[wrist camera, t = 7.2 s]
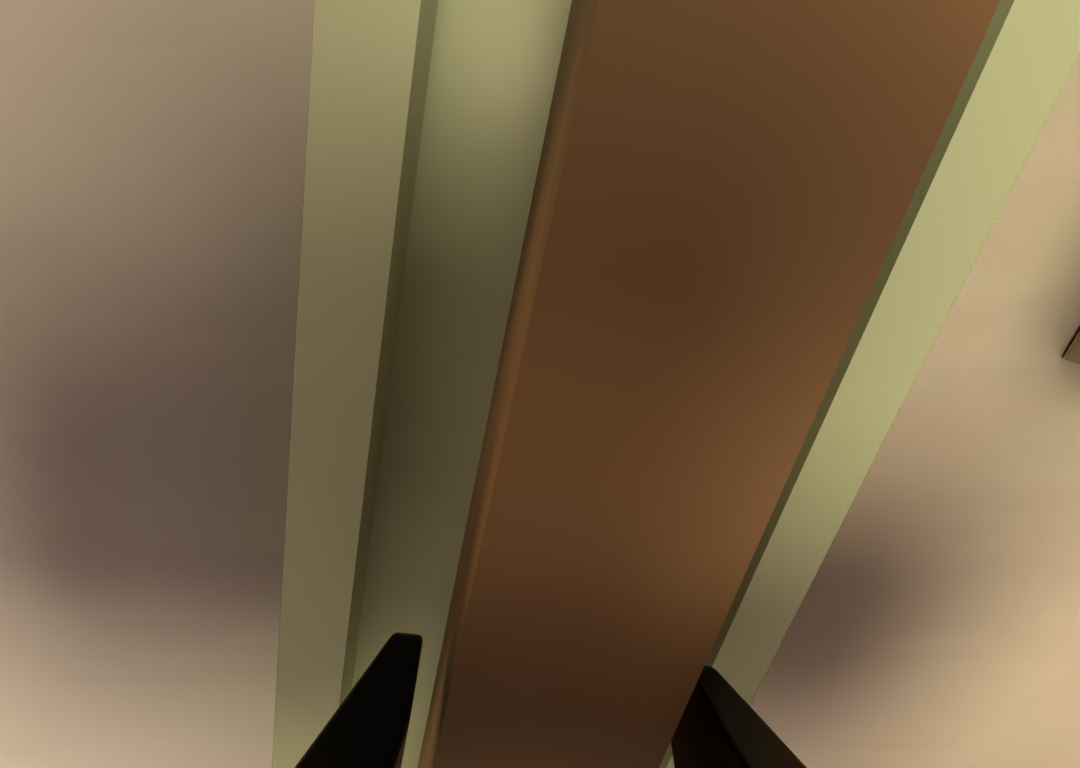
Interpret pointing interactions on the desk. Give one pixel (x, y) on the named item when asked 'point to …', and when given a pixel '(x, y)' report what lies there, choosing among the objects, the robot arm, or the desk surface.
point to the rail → (673, 348)
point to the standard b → (1074, 350)
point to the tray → (483, 307)
